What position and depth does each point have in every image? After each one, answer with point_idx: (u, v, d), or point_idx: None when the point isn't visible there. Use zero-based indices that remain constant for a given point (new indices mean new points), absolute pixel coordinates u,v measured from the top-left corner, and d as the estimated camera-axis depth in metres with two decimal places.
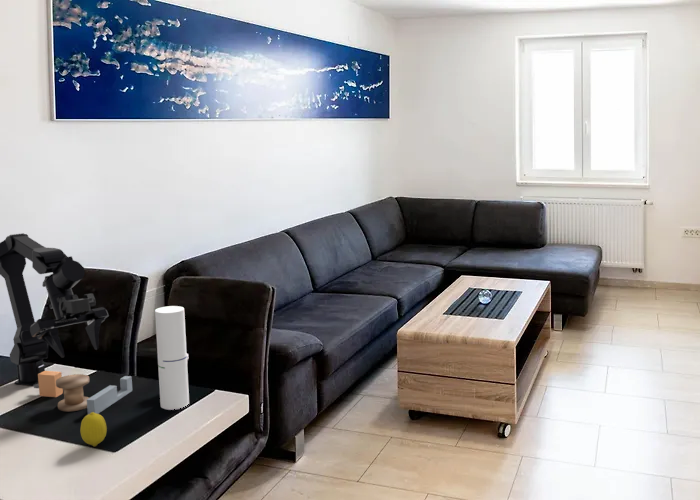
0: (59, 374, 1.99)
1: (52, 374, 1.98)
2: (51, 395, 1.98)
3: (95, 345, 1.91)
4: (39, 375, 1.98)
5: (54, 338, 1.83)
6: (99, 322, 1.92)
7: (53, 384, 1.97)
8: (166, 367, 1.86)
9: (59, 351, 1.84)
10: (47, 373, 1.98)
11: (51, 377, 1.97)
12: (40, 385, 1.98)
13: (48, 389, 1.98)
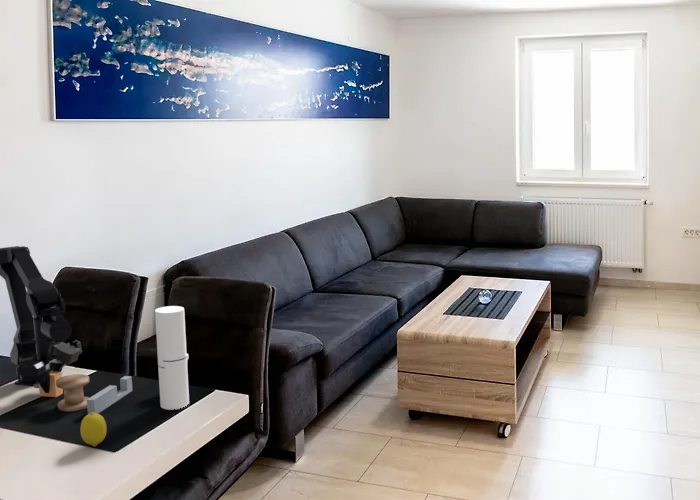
0: (59, 374, 1.99)
1: (52, 374, 1.98)
2: (51, 395, 1.98)
3: None
4: None
5: (47, 377, 1.95)
6: (64, 365, 2.01)
7: (53, 384, 1.97)
8: (166, 367, 1.86)
9: (46, 388, 1.97)
10: None
11: (51, 377, 1.97)
12: None
13: None
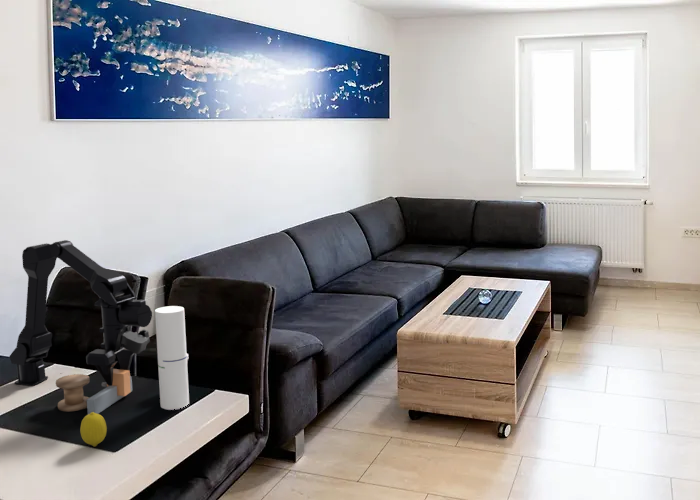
0: (128, 373, 1.96)
1: (121, 373, 1.95)
2: (119, 394, 1.95)
3: None
4: None
5: (110, 370, 1.90)
6: None
7: (122, 383, 1.94)
8: (166, 367, 1.86)
9: (109, 380, 1.92)
10: (116, 371, 1.96)
11: (120, 375, 1.94)
12: None
13: (117, 387, 1.95)
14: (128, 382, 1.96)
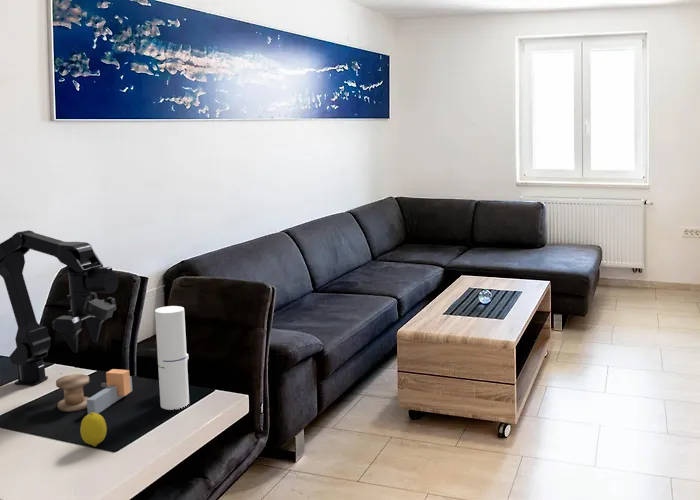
0: (127, 372, 1.96)
1: (120, 372, 1.95)
2: (119, 394, 1.95)
3: (95, 339, 2.05)
4: (107, 374, 1.95)
5: (75, 336, 1.94)
6: (104, 319, 2.05)
7: (122, 383, 1.94)
8: (166, 367, 1.86)
9: (74, 347, 1.95)
10: (115, 371, 1.96)
11: (119, 375, 1.94)
12: (108, 383, 1.95)
13: (117, 387, 1.95)
14: (128, 382, 1.96)
